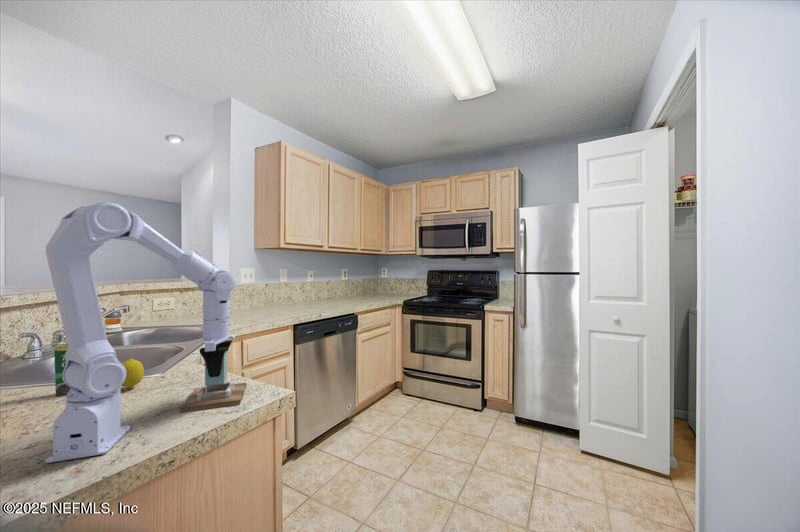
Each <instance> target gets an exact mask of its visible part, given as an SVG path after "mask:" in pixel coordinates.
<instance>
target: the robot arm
mask: <svg viewBox="0 0 800 532" xmlns="http://www.w3.org/2000/svg"><path fill="white" fill-rule="evenodd" d="M111 240H119V241H129V242H130V241H131V242H135V243H137V244H138V245H140V246H142V247H144V248H145V249H147V250H149V251H151V252H152V253H154V254H155V255H158V256H160V257H161V258H163V259H165V260H167V261H169V262H171V263H170V264H171V267H172V271H174V272H176V273H178V274H179V275H181V276H182V277H184V278H186V279H187V280H189V281H190V282H193V283H194V284H196V285H197V287H198V289H199V290H200V292H202V338H201V341H202V342H203V344H204V347H201V348H200V349H199V355H201V356H202V358H203V361H204V364H205V363H206V366H207V370H208V374H209V377H219V376H220V373H221V368H222V361H223V357H224V354H225V352H226V351H227V353H228V351H229V349H230V347H231V344H232V342H233V341H232V340H231V339H235V338H236V335H235V334H234V333H233V334H230V333H231V331H230V330H231V329H230V327H231V326H230V325H231V323H230V321H231V316H230V314H231V312H230V311H231V307H230V305H231V296H232V295H231V294H232V291H233V290H234V289H235V285H236V280H234V279H233V276H232V274H231V273H230V272H229V271H226V270H220V269H219V268H218V267H219V265H217V264H216V263H211V262H210V261H208V260H207V259H206V258H204V257H203V256H202V255H203V253H201V252H200V251H198V250H196V251H195V250H192V249H188V250H182V249H181V248H180V247H178V246H177V245H176V244H174V243H173V242H171V240H169V239H167V238H166V237H164V236H163V235H162V234H161V233H160V232H158V231H157V230H155V229H154V228H153V227H151V226H150V225H149V224H148V223H146V222H145V221H144V220H143V219H142V218H140V216H139V215H137V214H135V213H133V212H131V211H128V210H127V209H126V208H125V207H124V206H122V205H121V204H119V203H116V202H112V201H100V202H96V203H94V204H91V205H86V206H79V207H77V208H75V209H73V210H72V211H70V212H68V213H67V214H66V215H64V216H62V217H61V218H60V224H59V225H58V227H57V228H56V230H55V231H54V233H53V234H52V236H51V237H50V239H49V241H48V243H47V244H46V246H45V254H46V255H45V256H46V259H47V263H48V267H49V271H50V276H51V279H52V280H51V281H52V284H53V288H54V289H53V290H54V292H55V296H56V297H55V298H56V300H57V305H58V310H59V314H60V318H61V322H62V326H63V331H64V335H65V339H66V343H67V344H68V349H67V351H66V353H65V358H66V366H65V368H64V371H63V374H62V378H63V381H64V383H65V384H66V385H67V386H69V387H71V389H70V390H69V392H68V394H67V395H65V398H66V399H65V407H64V409H63V411H61V413H59V415H58V416H57V417H56V418H55V419H54V422H53V426H52V432H53V433H52V455H51V456H49V457H48V458H47V459H45V464H49V463H54V462H55V463H56V462H63V461H67V460H74V459H80V458H86V457H92V456H99V455H103V454H106V453H108V452H109V450H110V449H111V448H113V447H114V445H115V444H117V443H118V442H119V440H121V439H122V437H123V436H124V435H126V433H127V432H128V431H129V430H130V429H131V426H130V425H126V426H121V424H122V423H121V421H122V419H121V414H122V412H121V408H122V407H121V404H122V400H121V396H122V395H121V394H122V391H121V390H122V389H121V387H123V386H122V384H123V383H124V381H125V379H126V373H127V372H126V369H125V367H124V365H123V364H122V362H120V360H119V359H118V357H117V354H116V350H115V349H114V348H113V346H112V344H111V343H110V342H109V340H108V337H107V333H106V328H105V324H104V318H103V313H102V311H101V310H102V309H101V304H100V299H99V297H98V296H99V295H98V292H97V287H96V283H95V278H94V273H93V268H92V265H91V260H90V256H91V255H92V254H94V252H96V251H97V250H98V249H99V248H100V247H102V246H103V245H104V244H105V243H106V242H109V241H111Z"/></svg>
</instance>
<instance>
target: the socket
mask: <svg viewBox="0 0 800 532" xmlns="http://www.w3.org/2000/svg"><path fill="white" fill-rule="evenodd" d="M246 388H247V382H241V383H235V381H228V382H226V381H225V383H224V384H217V385H208V386H205V384H203V385H202V387H198V388H197V387H196V388H194V389H193V391H192V392H191V393H190V395H188V397H187V398H186V400H185V401H184V403H182V405H181V406H180V407H179V410H180V413H185V412H192V411H199V410H208V409H214V408H222V407H230V406H236V405H241V402H242V400H243V398H244V395H245V392H246Z"/></svg>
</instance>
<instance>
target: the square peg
mask: <svg viewBox="0 0 800 532" xmlns="http://www.w3.org/2000/svg"><path fill="white" fill-rule="evenodd" d="M227 379H228V352H227V351H226V352H225V354H224V357H223V361H222V368H221V373H220V376H219V377H209V374H208V370H207V366H206V363H205V362H204V385H205V386H208V385H217V384H224V383H226V381H227Z"/></svg>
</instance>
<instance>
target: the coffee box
mask: <svg viewBox="0 0 800 532" xmlns="http://www.w3.org/2000/svg"><path fill="white" fill-rule="evenodd" d="M53 348H54V349H53V350H54V352H53V353H54V355H53V356H54V379H55V380H54V381H55V385H54V386H55V396H56V397H60V396H67V394H68V392H69V390H70V389H71V387H69V386H67V385H66V384H65V383H64V381H63V378H62V374H63V371H64V368H65V366H66V358H65V353H66V351H67V349H68V344H67V342H62V343H61V342H60V343H57V344H55V345H54V347H53Z"/></svg>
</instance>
